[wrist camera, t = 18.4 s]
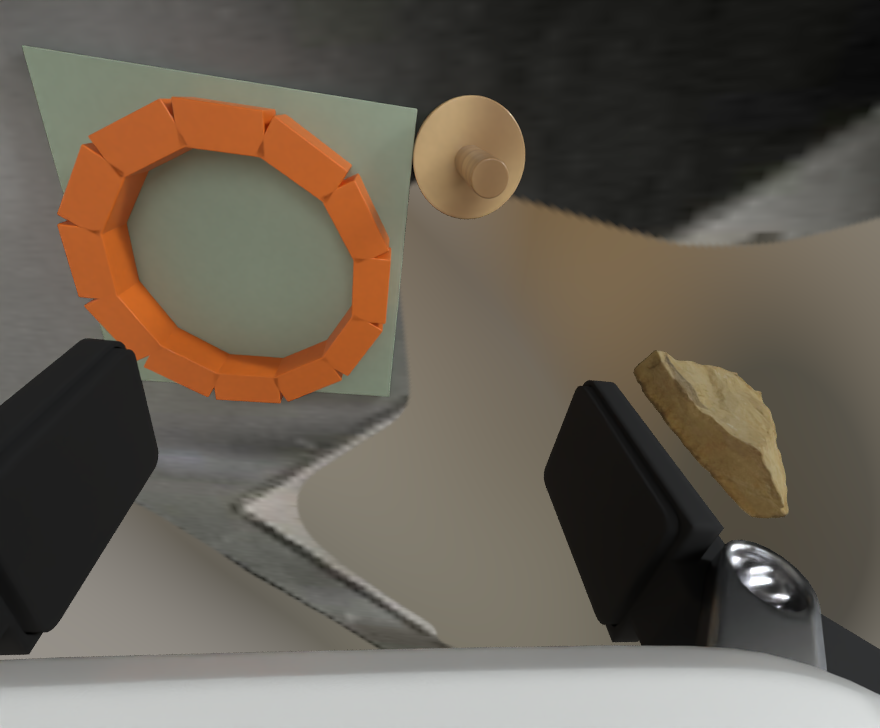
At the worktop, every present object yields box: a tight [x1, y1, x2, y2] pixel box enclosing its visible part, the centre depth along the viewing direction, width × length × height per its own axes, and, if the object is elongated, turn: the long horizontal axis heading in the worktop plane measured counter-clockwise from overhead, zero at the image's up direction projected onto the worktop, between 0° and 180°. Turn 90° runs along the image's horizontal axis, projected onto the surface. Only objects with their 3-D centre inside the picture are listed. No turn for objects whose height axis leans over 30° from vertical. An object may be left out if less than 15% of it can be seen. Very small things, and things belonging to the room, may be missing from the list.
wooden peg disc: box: [413, 95, 525, 219], centre depth 21 cm, size 6×6×7 cm
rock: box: [634, 350, 788, 518], centre depth 30 cm, size 11×9×10 cm
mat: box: [22, 46, 417, 397], centre depth 26 cm, size 18×18×1 cm
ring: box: [57, 97, 391, 403], centre depth 25 cm, size 16×16×2 cm
